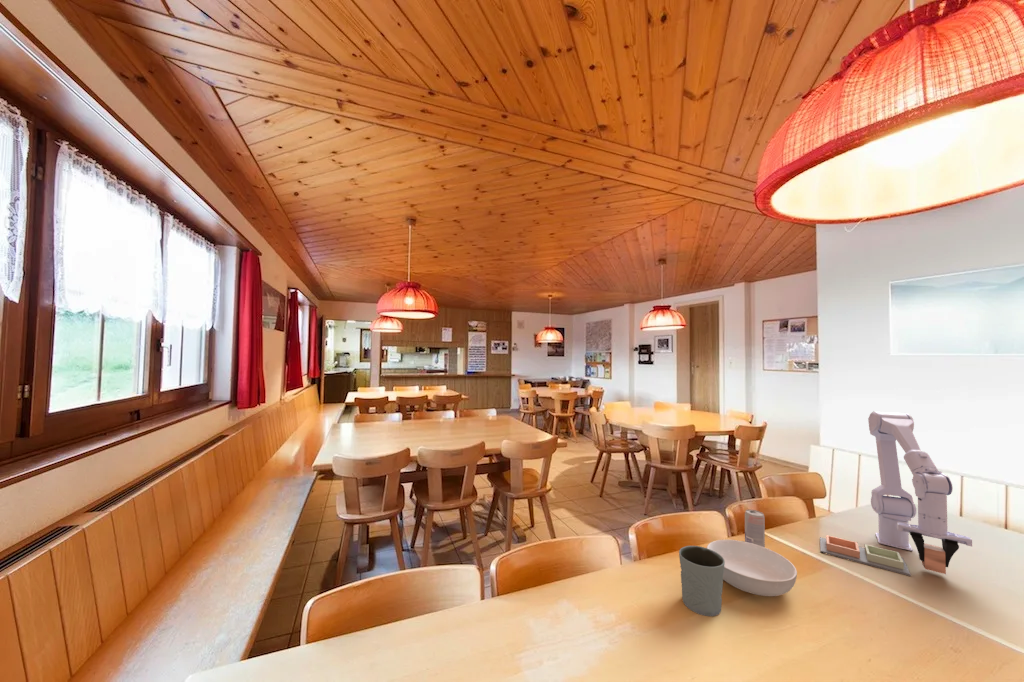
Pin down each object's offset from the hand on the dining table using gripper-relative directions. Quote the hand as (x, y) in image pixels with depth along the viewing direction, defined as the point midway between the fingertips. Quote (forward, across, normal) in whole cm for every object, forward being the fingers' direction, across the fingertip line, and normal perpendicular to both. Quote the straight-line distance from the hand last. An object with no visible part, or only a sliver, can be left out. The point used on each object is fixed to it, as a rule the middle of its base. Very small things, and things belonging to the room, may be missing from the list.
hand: (933, 562), depth 110 cm
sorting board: (+3, -16, 0) cm, 16 cm away
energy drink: (+3, -42, -19) cm, 46 cm away
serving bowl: (+3, -41, -41) cm, 58 cm away
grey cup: (+3, -49, -60) cm, 78 cm away
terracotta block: (+2, 0, 0) cm, 2 cm away
